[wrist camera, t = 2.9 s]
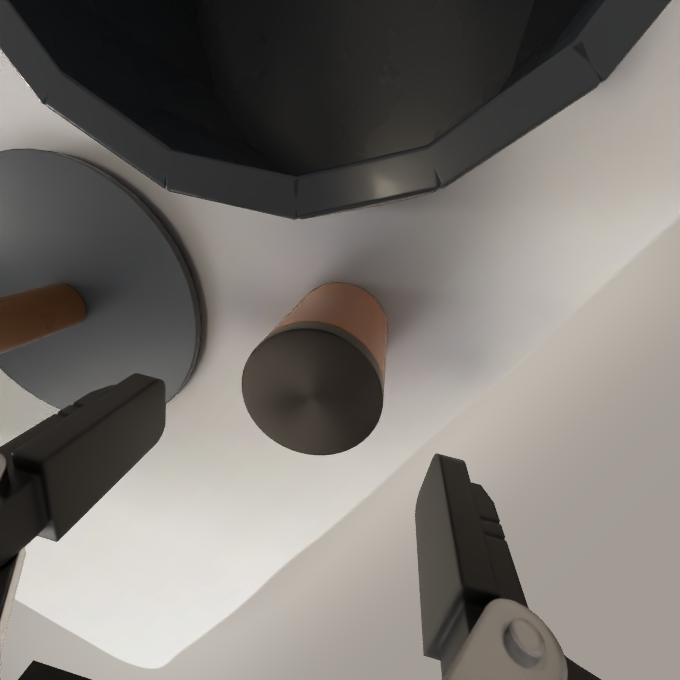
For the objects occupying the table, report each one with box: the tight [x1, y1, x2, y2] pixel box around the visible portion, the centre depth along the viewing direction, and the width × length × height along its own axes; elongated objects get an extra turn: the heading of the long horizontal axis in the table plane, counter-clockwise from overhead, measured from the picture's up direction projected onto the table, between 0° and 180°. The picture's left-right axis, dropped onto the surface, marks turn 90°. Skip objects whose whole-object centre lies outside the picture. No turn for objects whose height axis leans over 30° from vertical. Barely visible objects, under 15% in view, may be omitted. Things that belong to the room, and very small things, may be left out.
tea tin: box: [242, 283, 388, 455], centre depth 15 cm, size 5×5×7 cm
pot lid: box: [0, 149, 201, 410], centre depth 17 cm, size 15×15×7 cm
